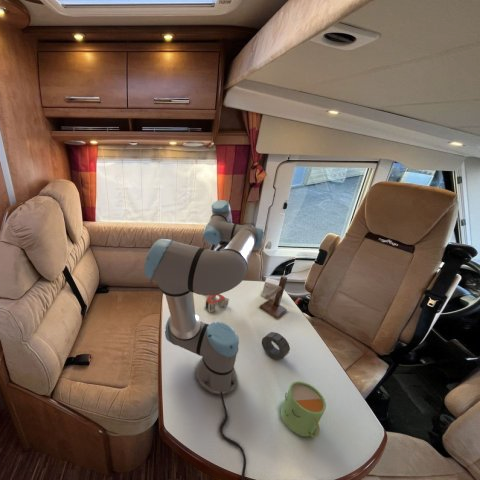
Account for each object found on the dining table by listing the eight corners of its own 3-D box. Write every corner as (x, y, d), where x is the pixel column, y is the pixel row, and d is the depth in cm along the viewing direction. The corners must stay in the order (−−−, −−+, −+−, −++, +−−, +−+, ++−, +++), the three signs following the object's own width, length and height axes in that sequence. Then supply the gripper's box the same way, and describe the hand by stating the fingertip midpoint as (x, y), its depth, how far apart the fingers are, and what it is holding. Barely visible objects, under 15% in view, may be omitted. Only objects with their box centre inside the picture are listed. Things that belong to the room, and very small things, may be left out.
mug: (274, 404, 83) (282, 382, 78) (302, 402, 84) (311, 380, 79) (295, 447, 72) (306, 424, 67) (327, 444, 73) (340, 422, 68)
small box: (277, 296, 140) (281, 281, 136) (275, 301, 136) (279, 286, 131) (262, 291, 144) (266, 277, 140) (261, 296, 140) (264, 281, 135)
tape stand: (269, 301, 135) (277, 272, 127) (286, 311, 128) (295, 280, 120) (251, 313, 126) (258, 282, 117) (268, 324, 118) (277, 292, 110)
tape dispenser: (199, 290, 145) (194, 309, 127) (200, 283, 144) (195, 301, 126) (229, 295, 141) (228, 315, 123) (229, 287, 139) (229, 307, 121)
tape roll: (259, 348, 105) (264, 331, 101) (265, 343, 108) (269, 327, 104) (281, 364, 98) (287, 347, 94) (286, 359, 100) (292, 342, 96)
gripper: (253, 222, 105) (256, 254, 118) (199, 228, 114) (207, 258, 127) (255, 233, 100) (257, 266, 113) (197, 239, 109) (206, 268, 122)
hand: (231, 261), depth 120 cm, fingers open, 13 cm apart
